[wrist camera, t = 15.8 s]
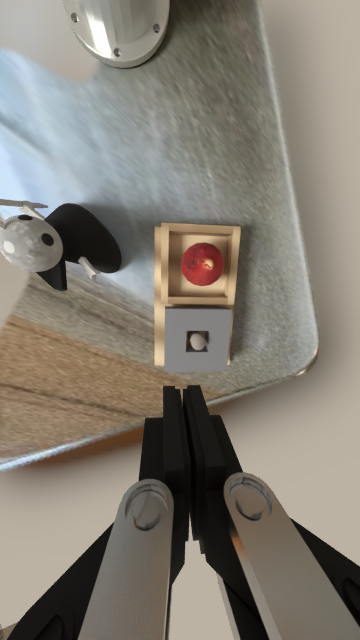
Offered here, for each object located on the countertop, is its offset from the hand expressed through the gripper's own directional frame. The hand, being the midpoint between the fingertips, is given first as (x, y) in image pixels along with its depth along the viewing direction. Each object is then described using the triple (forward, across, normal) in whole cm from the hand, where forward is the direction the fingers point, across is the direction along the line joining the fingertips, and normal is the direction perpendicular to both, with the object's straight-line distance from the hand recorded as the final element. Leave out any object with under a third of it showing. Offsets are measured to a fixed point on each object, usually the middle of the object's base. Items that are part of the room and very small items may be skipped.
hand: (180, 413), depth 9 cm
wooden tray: (+25, -5, -1) cm, 26 cm away
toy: (+26, +12, -9) cm, 30 cm away
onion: (+25, -5, -7) cm, 26 cm away
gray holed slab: (+23, -4, +4) cm, 24 cm away
